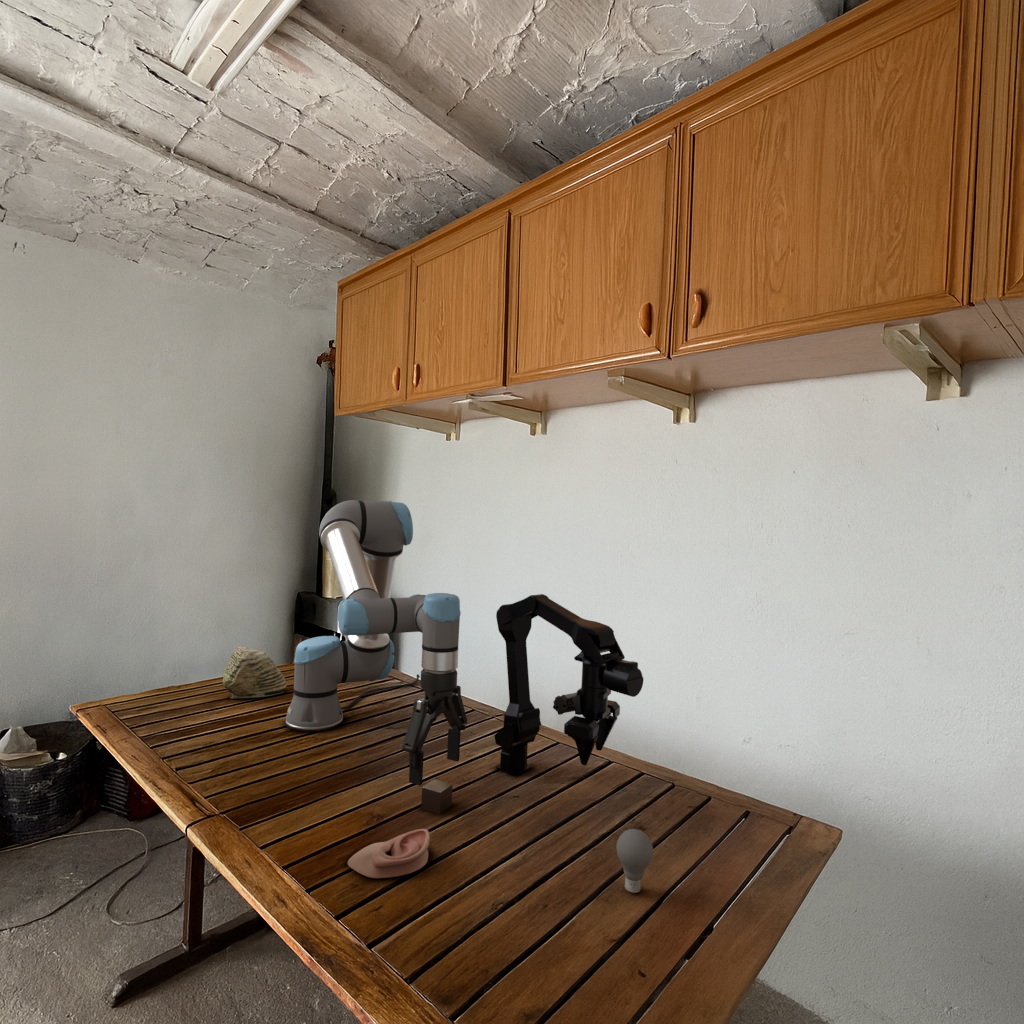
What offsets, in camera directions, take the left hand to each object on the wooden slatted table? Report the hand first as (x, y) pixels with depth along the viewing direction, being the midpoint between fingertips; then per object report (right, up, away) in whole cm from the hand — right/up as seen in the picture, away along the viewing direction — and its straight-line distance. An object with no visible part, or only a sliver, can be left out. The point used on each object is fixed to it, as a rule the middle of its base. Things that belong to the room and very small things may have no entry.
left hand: (435, 771), depth 131 cm
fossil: (-65, -4, +67) cm, 93 cm away
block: (0, -8, 0) cm, 8 cm away
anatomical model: (-6, -8, -20) cm, 22 cm away
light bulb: (+36, -10, -26) cm, 45 cm away
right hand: (+33, +1, +4) cm, 33 cm away
